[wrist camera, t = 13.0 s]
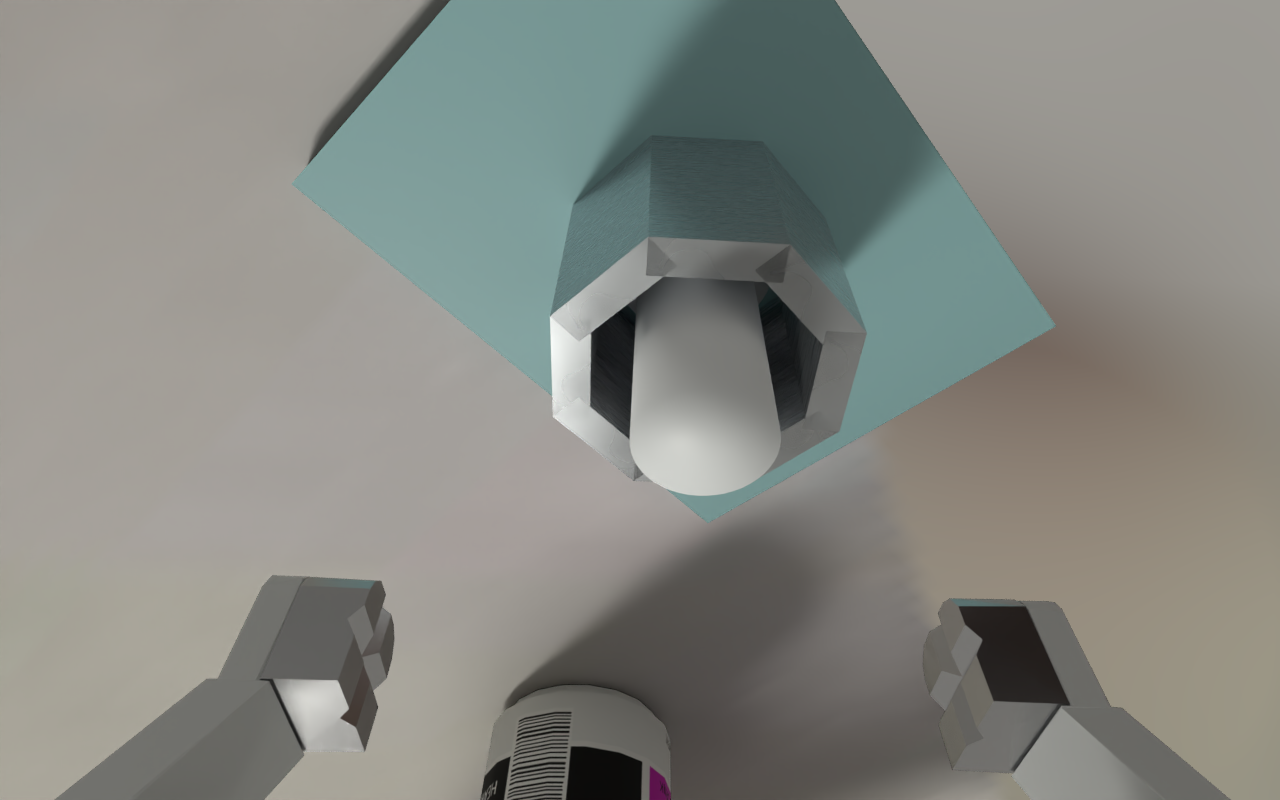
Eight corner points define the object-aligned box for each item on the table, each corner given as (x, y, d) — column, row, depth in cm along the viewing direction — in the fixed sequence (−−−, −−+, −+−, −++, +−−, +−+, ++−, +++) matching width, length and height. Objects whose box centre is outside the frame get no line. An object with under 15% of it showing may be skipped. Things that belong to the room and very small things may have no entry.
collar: (841, 146, 18) (890, 250, 14) (794, 362, 22) (823, 490, 18) (572, 130, 18) (547, 230, 14) (573, 350, 22) (554, 476, 18)
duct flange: (1042, 305, 22) (1194, 521, 15) (706, 501, 27) (719, 720, 21) (665, -248, 14) (667, -261, 8) (306, 167, 20) (140, 351, 13)
